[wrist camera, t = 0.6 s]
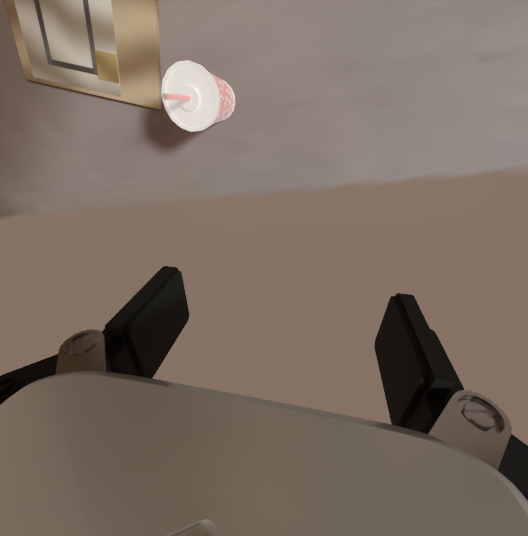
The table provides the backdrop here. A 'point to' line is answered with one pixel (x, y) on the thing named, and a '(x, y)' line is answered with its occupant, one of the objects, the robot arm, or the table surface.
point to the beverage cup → (195, 96)
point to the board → (91, 46)
